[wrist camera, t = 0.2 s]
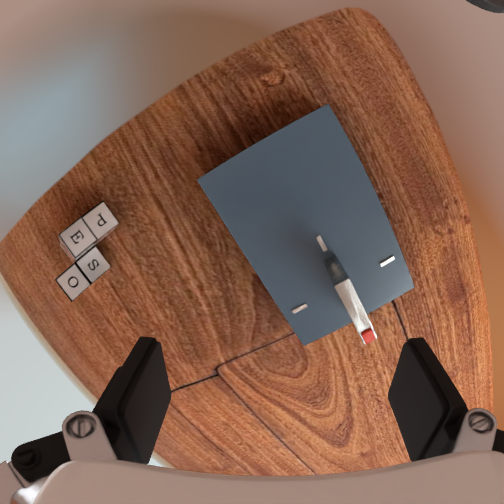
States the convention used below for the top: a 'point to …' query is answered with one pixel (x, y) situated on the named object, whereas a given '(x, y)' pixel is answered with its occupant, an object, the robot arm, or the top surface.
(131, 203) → the top surface
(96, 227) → the building blocks
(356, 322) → the lever
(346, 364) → the top surface
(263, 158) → the blue-grey rectangular block
